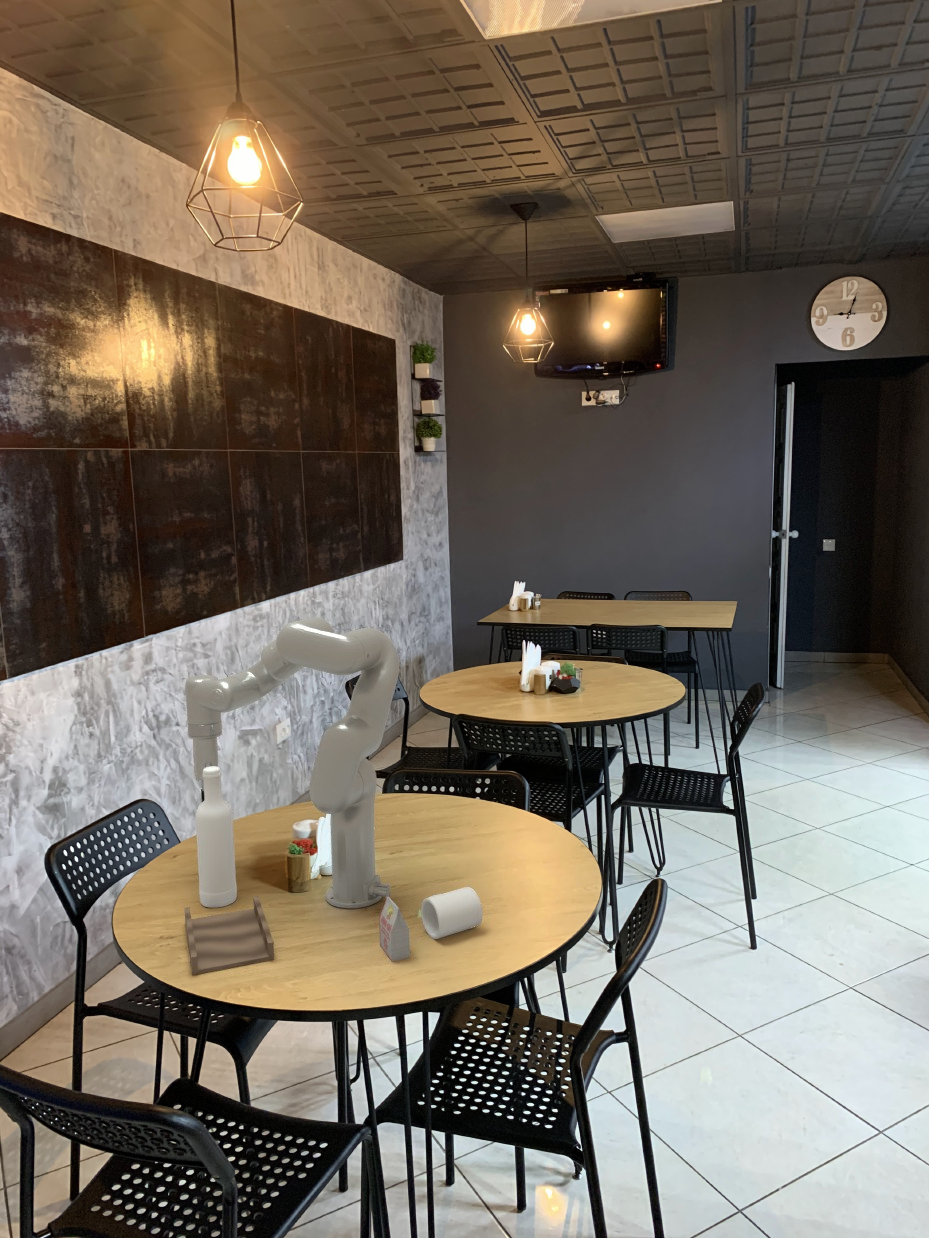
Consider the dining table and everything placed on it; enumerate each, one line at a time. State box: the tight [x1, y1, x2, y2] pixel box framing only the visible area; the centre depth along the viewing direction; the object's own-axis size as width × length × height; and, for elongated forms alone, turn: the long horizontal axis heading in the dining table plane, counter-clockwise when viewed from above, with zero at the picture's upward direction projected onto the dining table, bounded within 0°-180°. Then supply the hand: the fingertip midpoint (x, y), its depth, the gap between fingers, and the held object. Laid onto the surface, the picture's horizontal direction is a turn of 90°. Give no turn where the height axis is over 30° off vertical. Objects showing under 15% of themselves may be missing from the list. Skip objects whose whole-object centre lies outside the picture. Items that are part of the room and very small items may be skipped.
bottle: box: [195, 766, 238, 909], centre depth 192 cm, size 8×8×30 cm
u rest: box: [184, 895, 275, 976], centre depth 175 cm, size 22×15×4 cm
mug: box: [420, 886, 484, 940], centre depth 180 cm, size 12×10×8 cm
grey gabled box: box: [378, 895, 411, 962], centre depth 170 cm, size 4×7×10 cm, turn 24°
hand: (209, 805), depth 205 cm, fingers closed
